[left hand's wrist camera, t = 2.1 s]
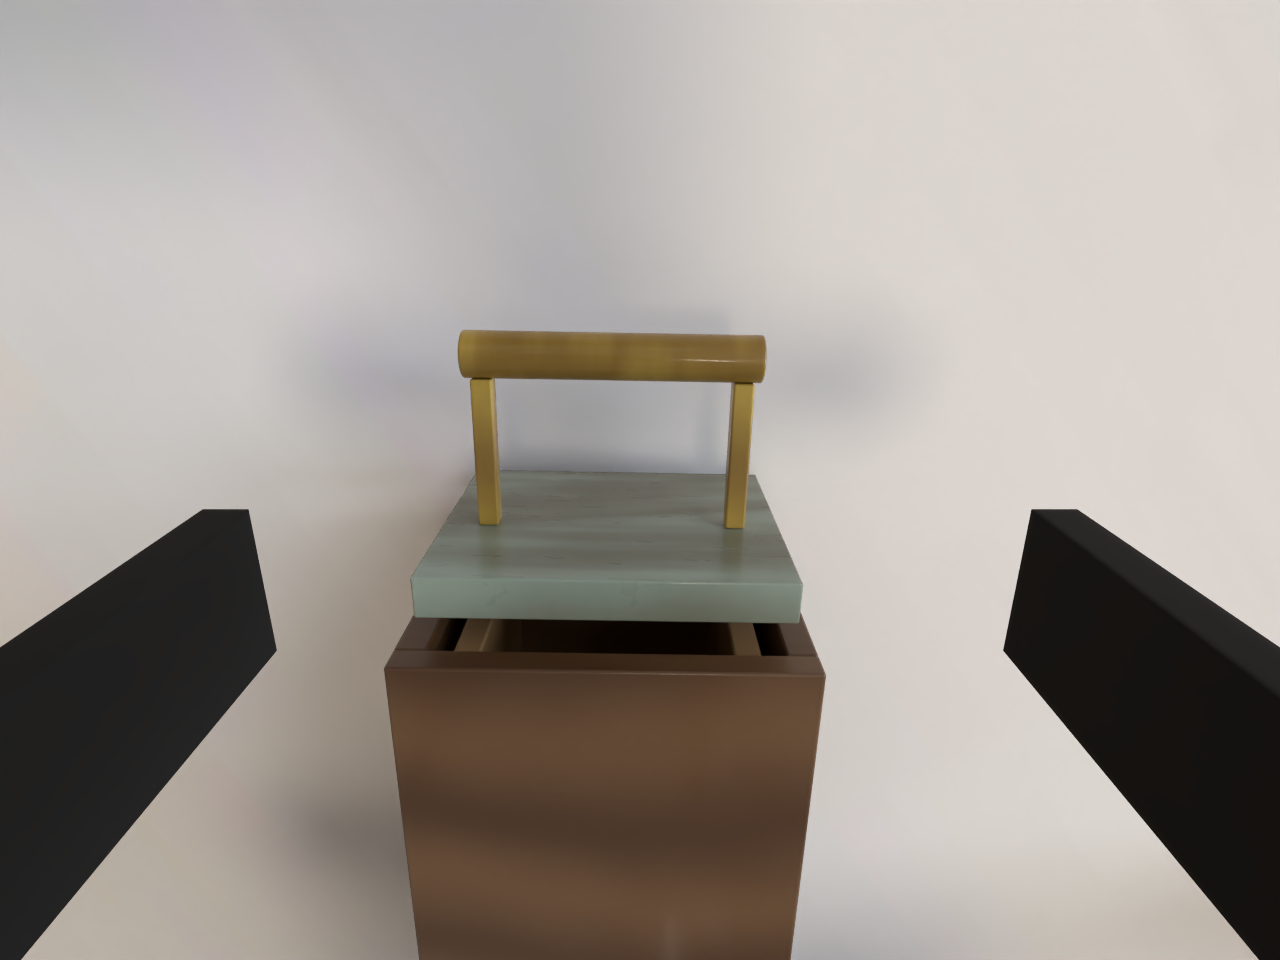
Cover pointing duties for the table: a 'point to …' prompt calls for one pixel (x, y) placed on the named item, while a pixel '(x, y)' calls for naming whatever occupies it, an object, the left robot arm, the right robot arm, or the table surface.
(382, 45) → the table surface
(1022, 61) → the table surface
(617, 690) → the cabinet
